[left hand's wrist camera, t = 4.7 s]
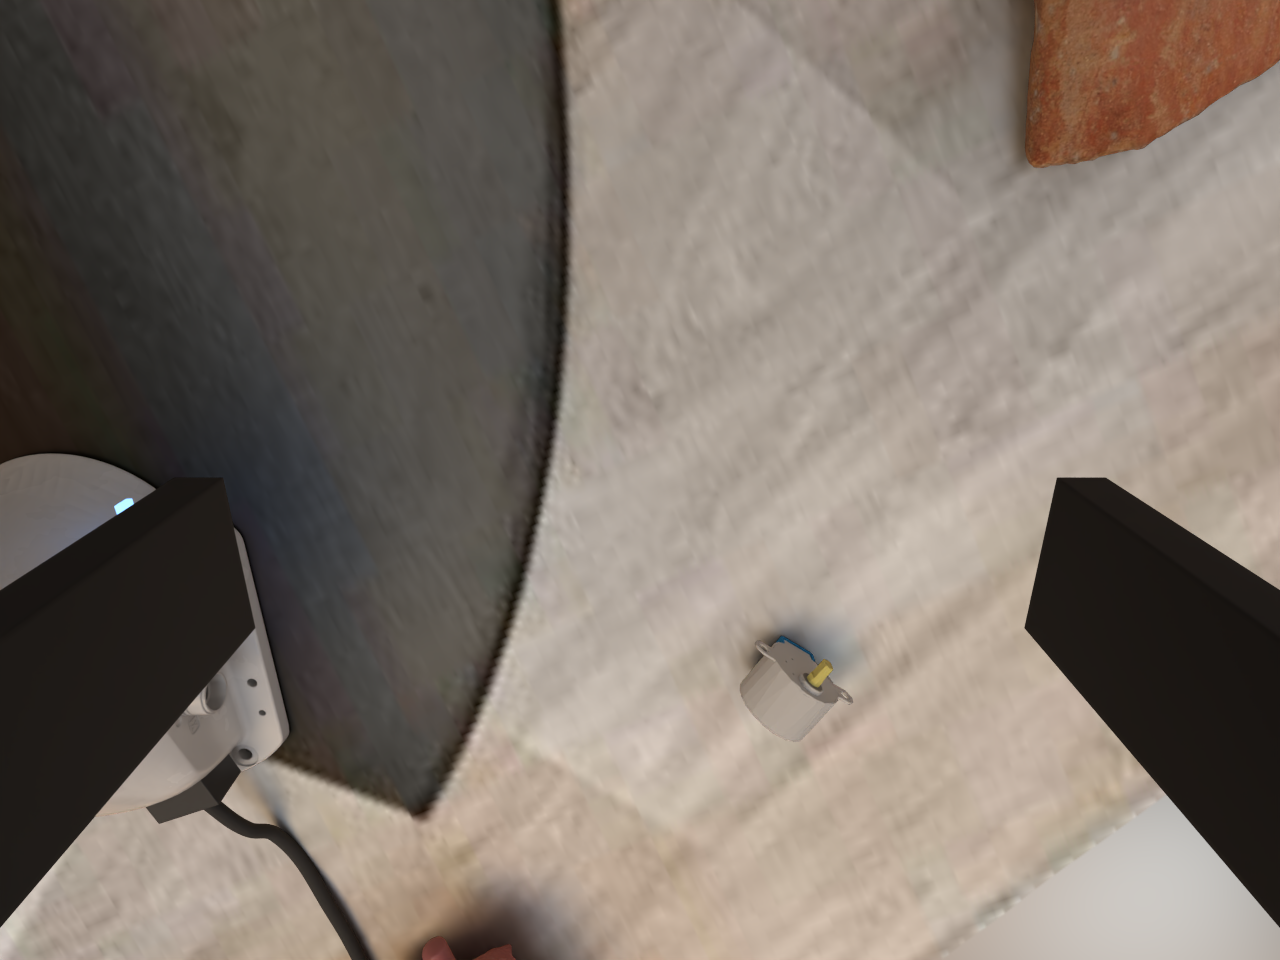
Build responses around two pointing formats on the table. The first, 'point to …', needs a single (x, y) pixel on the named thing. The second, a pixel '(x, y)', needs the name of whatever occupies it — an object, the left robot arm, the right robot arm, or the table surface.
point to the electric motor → (790, 690)
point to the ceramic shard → (1136, 69)
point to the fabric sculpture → (440, 956)
